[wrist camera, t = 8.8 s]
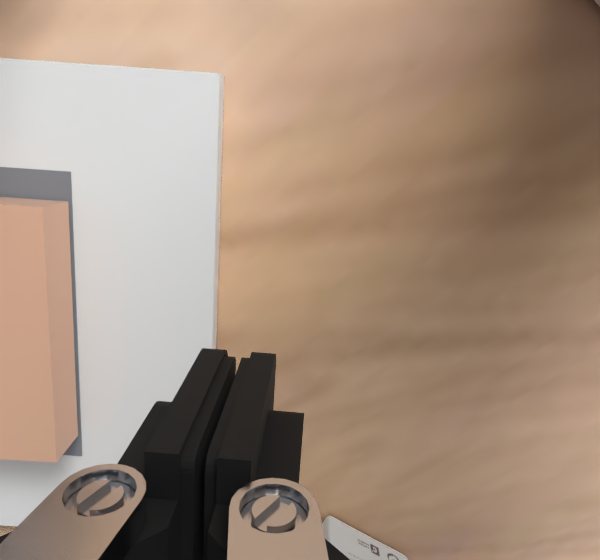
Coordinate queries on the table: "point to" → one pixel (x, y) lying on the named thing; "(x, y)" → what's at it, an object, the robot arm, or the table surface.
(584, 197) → the table surface
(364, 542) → the skincare box
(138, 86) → the mat
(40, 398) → the tile
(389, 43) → the table surface
